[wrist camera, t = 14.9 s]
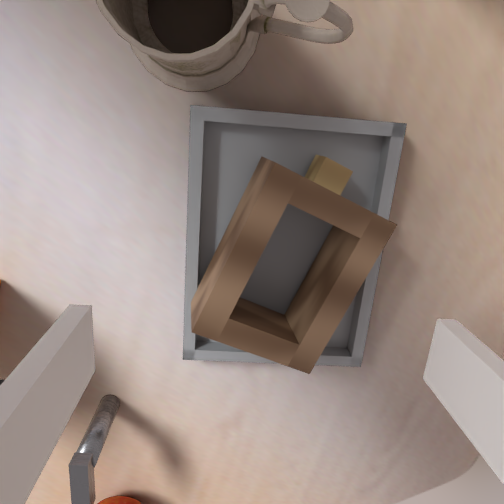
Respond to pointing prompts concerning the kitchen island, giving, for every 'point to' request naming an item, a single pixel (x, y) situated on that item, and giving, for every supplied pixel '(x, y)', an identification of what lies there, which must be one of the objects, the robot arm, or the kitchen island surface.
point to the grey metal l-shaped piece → (91, 451)
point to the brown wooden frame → (316, 280)
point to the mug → (226, 49)
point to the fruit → (119, 500)
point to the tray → (293, 219)
